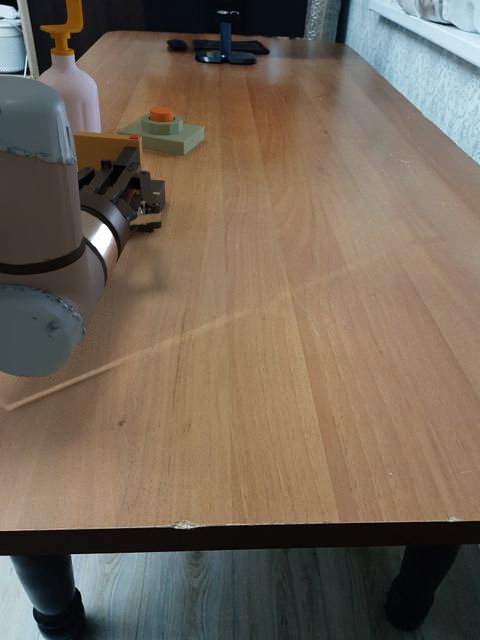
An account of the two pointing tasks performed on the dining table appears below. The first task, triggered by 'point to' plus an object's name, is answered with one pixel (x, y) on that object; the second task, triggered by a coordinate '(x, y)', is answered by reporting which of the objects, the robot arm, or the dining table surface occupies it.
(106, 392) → the dining table surface
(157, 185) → the black dial base
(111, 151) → the yellow angular block
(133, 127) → the button box
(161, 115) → the button
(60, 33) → the soap bottle
